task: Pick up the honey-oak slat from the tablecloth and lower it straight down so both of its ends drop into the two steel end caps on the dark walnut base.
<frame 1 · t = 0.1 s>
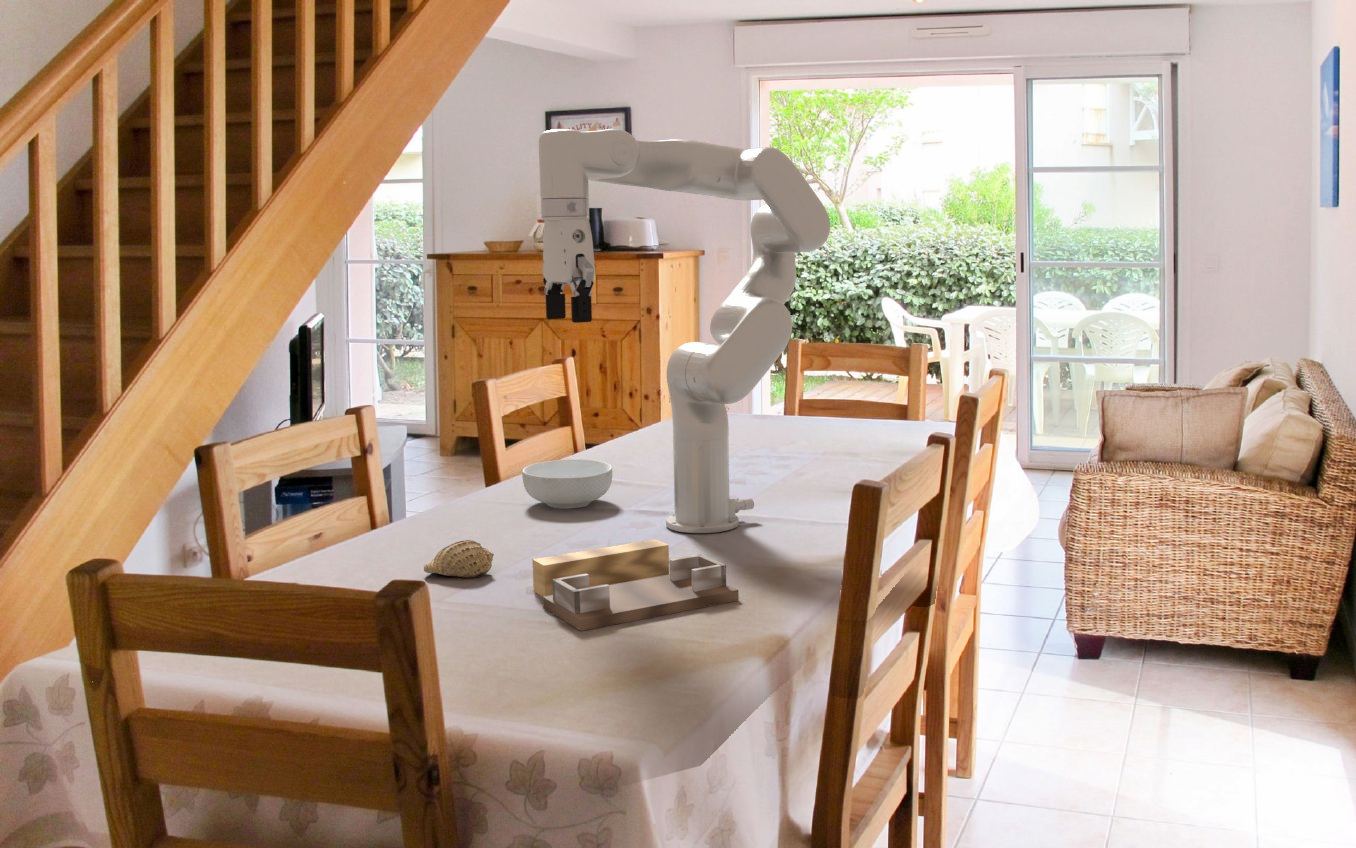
hand: (568, 320, 197), 37 cm above the table, fingers open, 9 cm apart
endcap base: (641, 603, 171), on the table
seashell: (459, 577, 188), on the table
slat: (602, 585, 182), on the table
cereal bowl: (568, 505, 234), on the table
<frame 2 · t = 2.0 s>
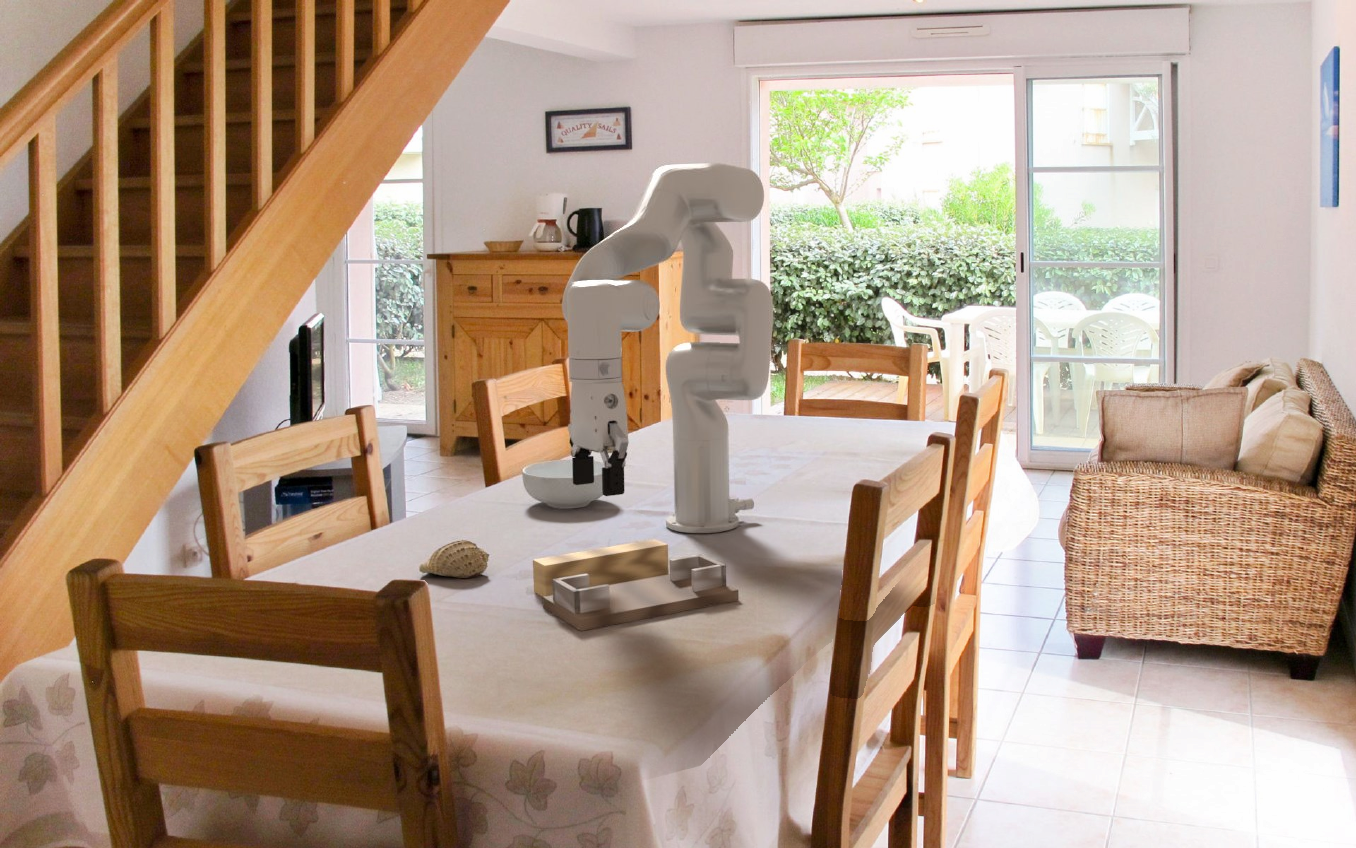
hand: (598, 489, 179), 14 cm above the table, fingers open, 9 cm apart
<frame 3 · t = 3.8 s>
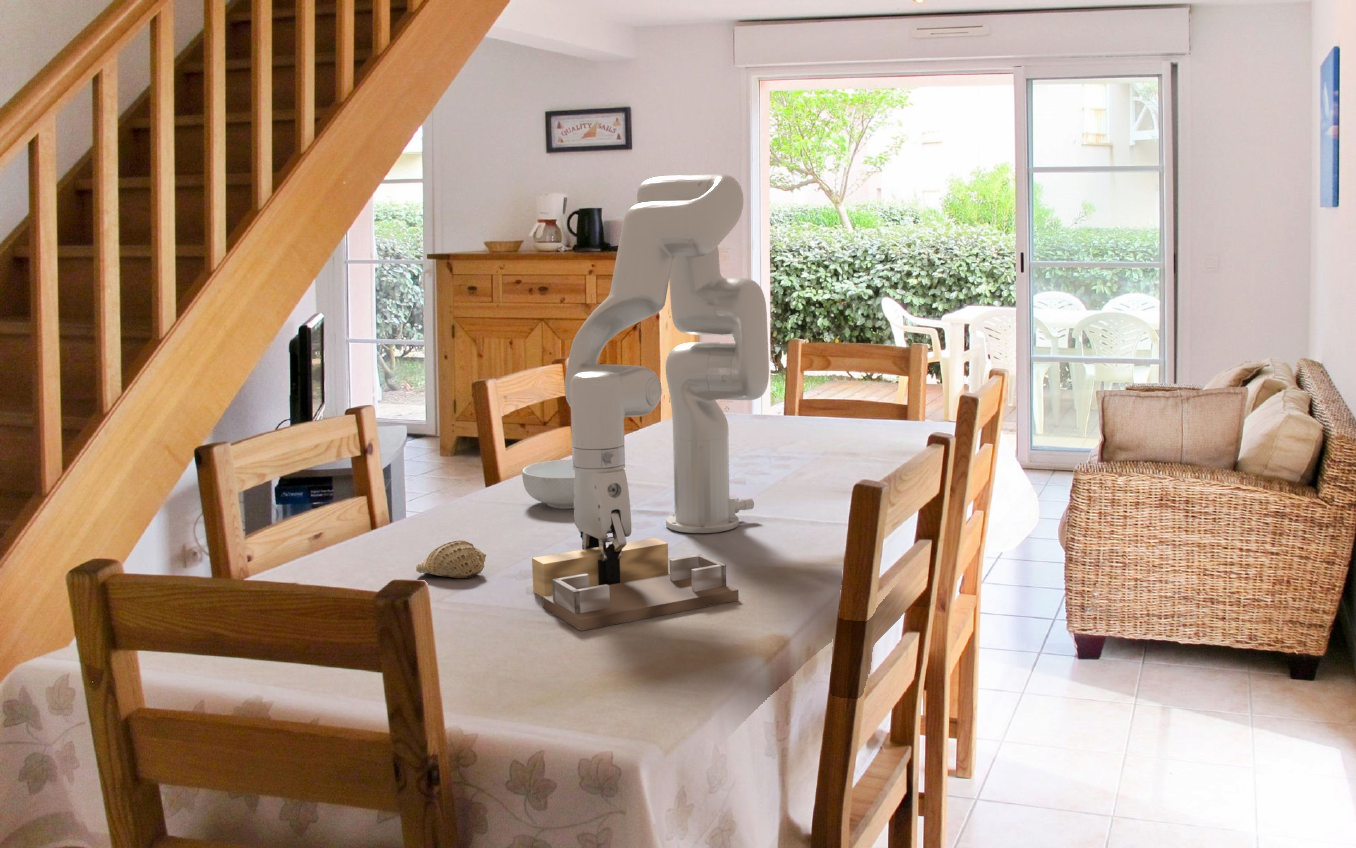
hand: (602, 580, 181), 0 cm above the table, fingers closed on slat, 4 cm apart
slat: (602, 583, 181), on the table, touching gripper
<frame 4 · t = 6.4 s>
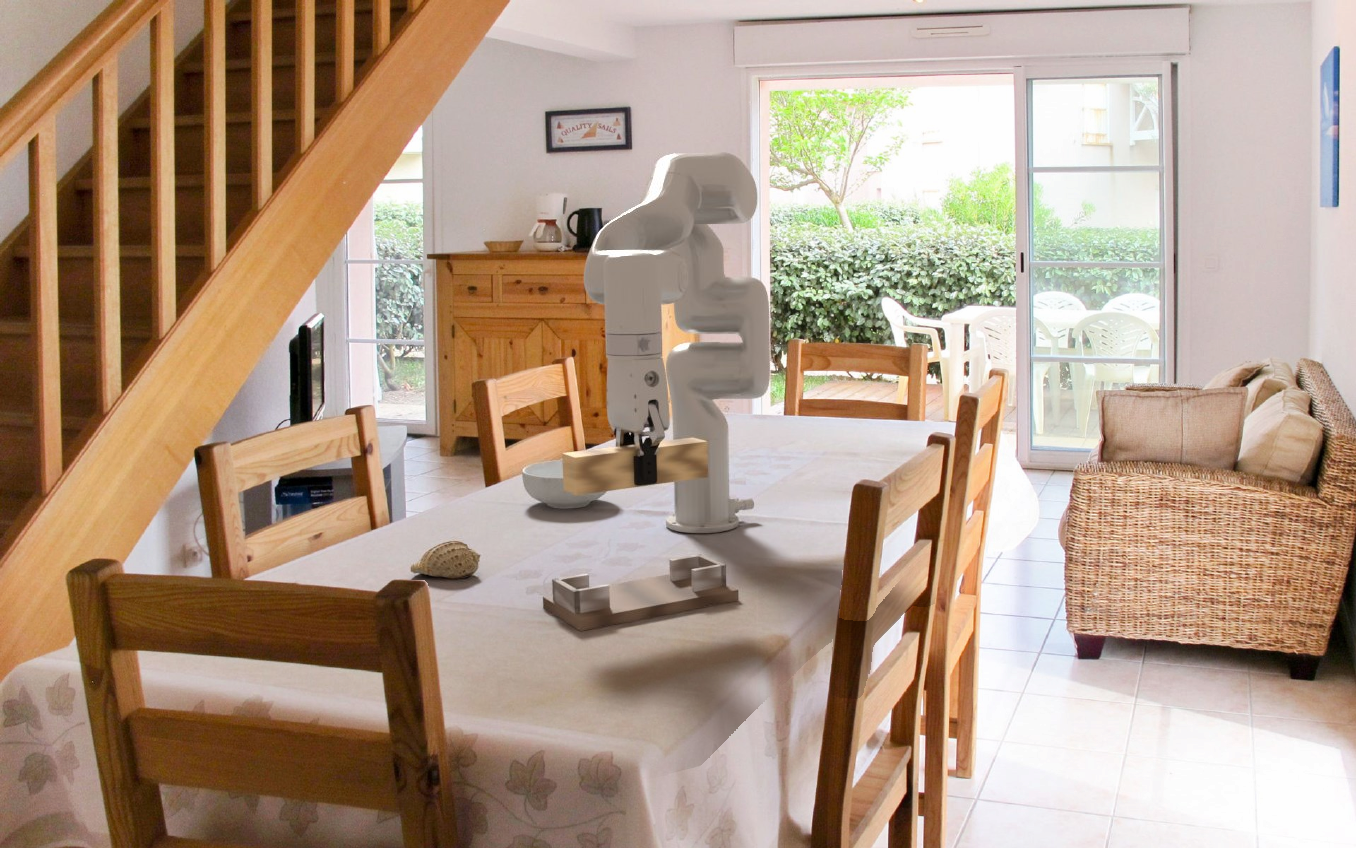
hand: (637, 480, 169), 17 cm above the table, fingers closed on slat, 4 cm apart
slat: (637, 483, 169), point 17 cm above the table, touching gripper
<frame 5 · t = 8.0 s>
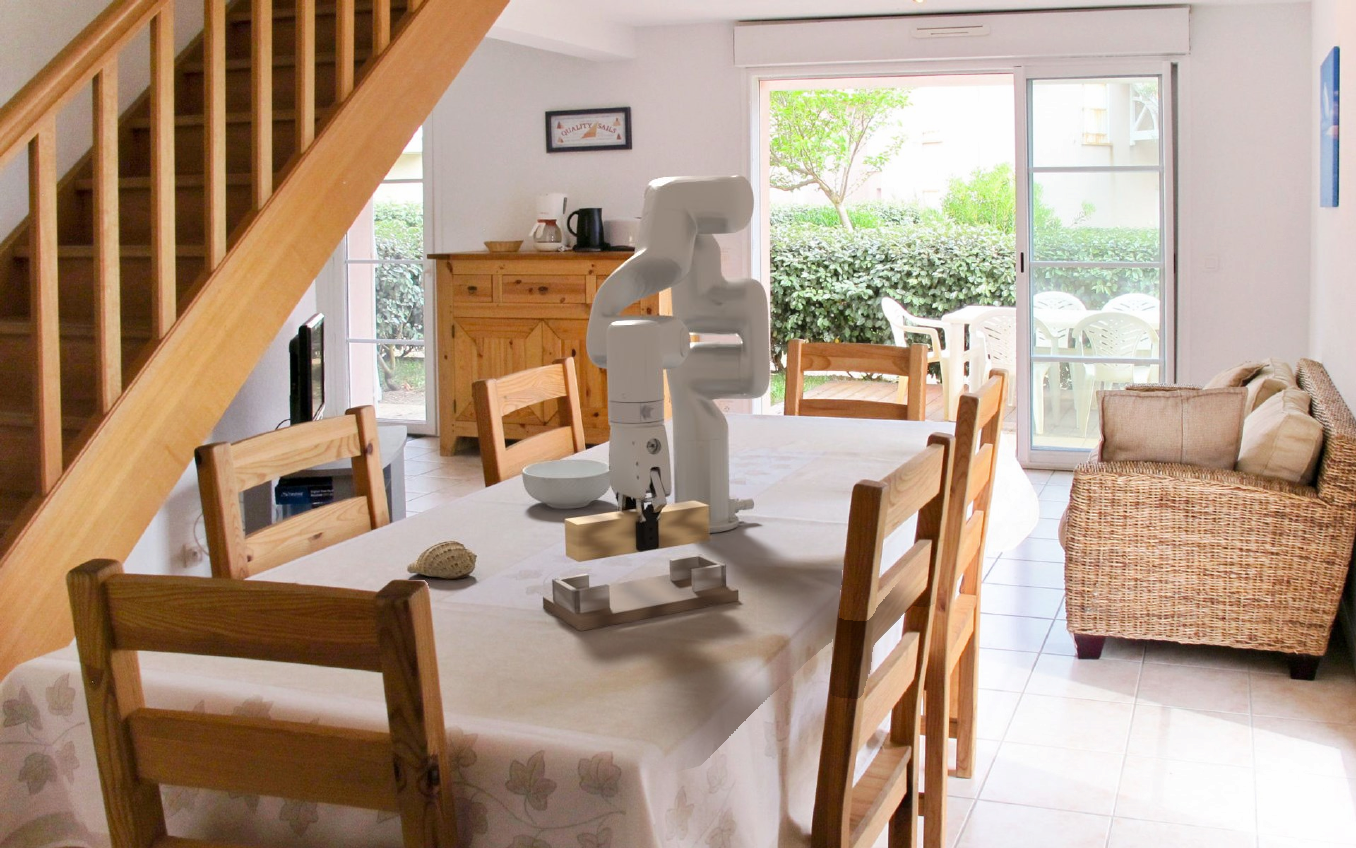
hand: (639, 544, 170), 8 cm above the table, fingers closed on slat, 4 cm apart
slat: (639, 548, 170), point 8 cm above the table, touching gripper
when the fingers open (3 cm above the table, at t = 9.3 s): slat drops 1 cm, resting on endcap base.
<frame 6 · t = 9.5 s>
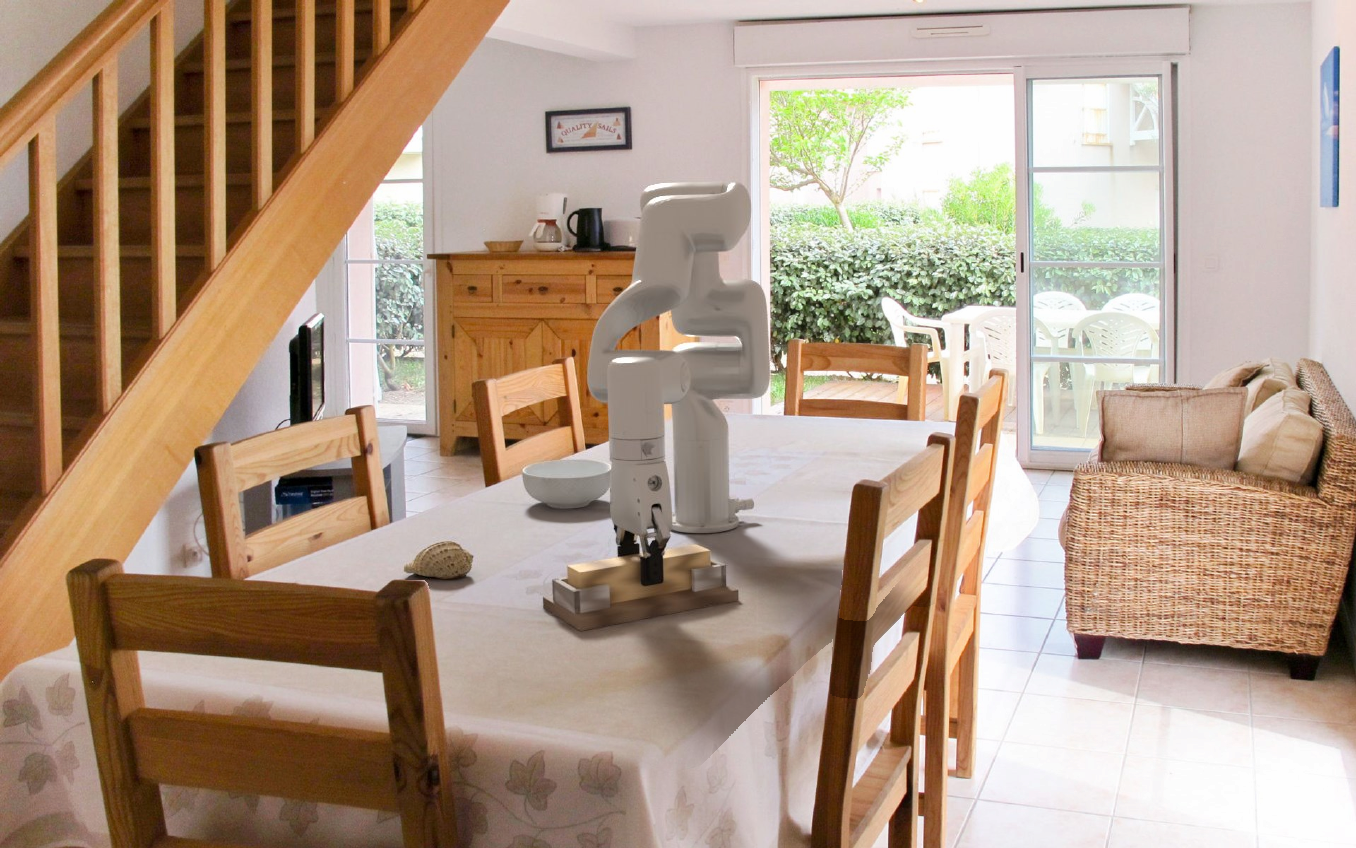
hand: (640, 577, 171), 4 cm above the table, fingers open, 6 cm apart
slat: (641, 593, 171), point 1 cm above the table, touching endcap base
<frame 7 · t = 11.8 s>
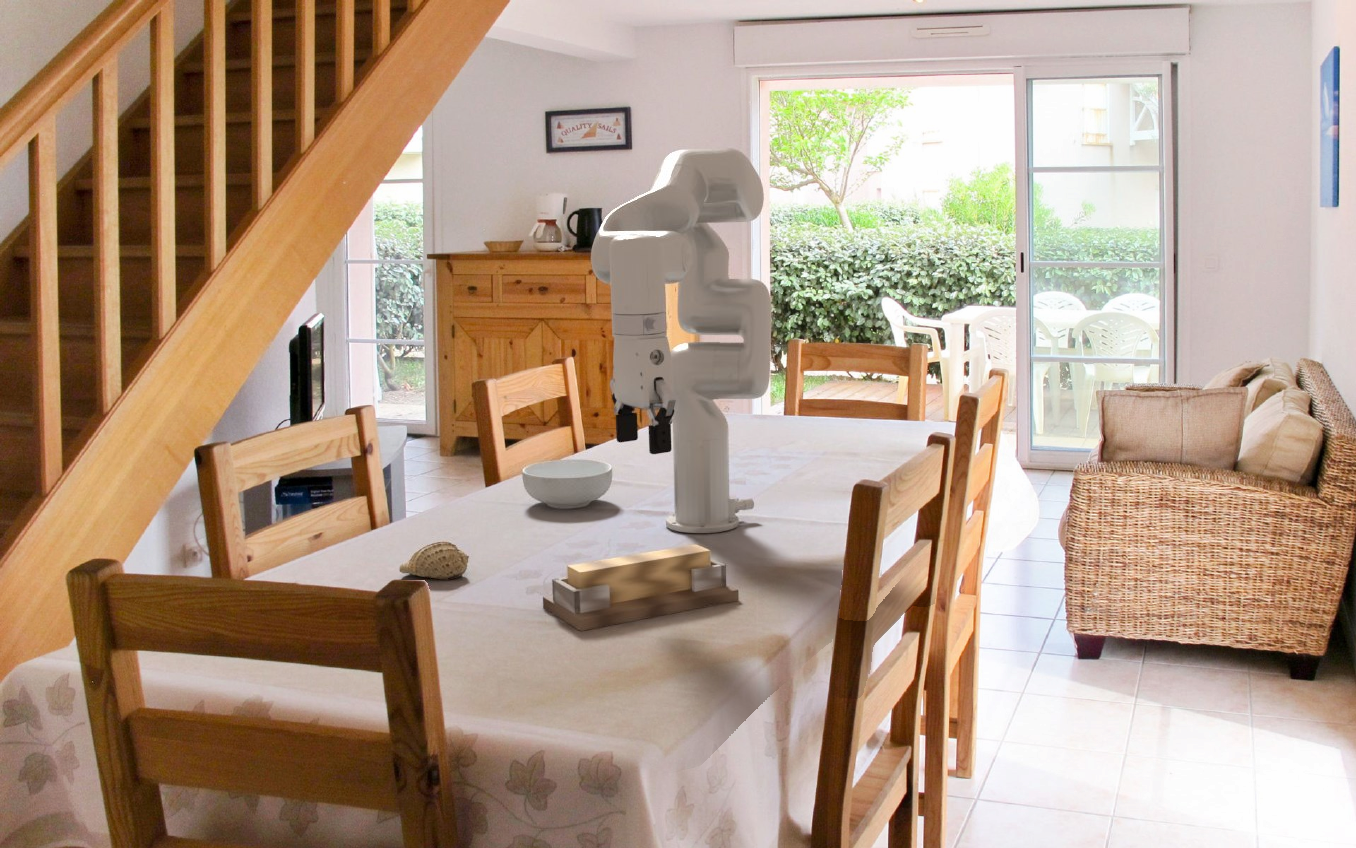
hand: (643, 446, 175), 21 cm above the table, fingers open, 9 cm apart
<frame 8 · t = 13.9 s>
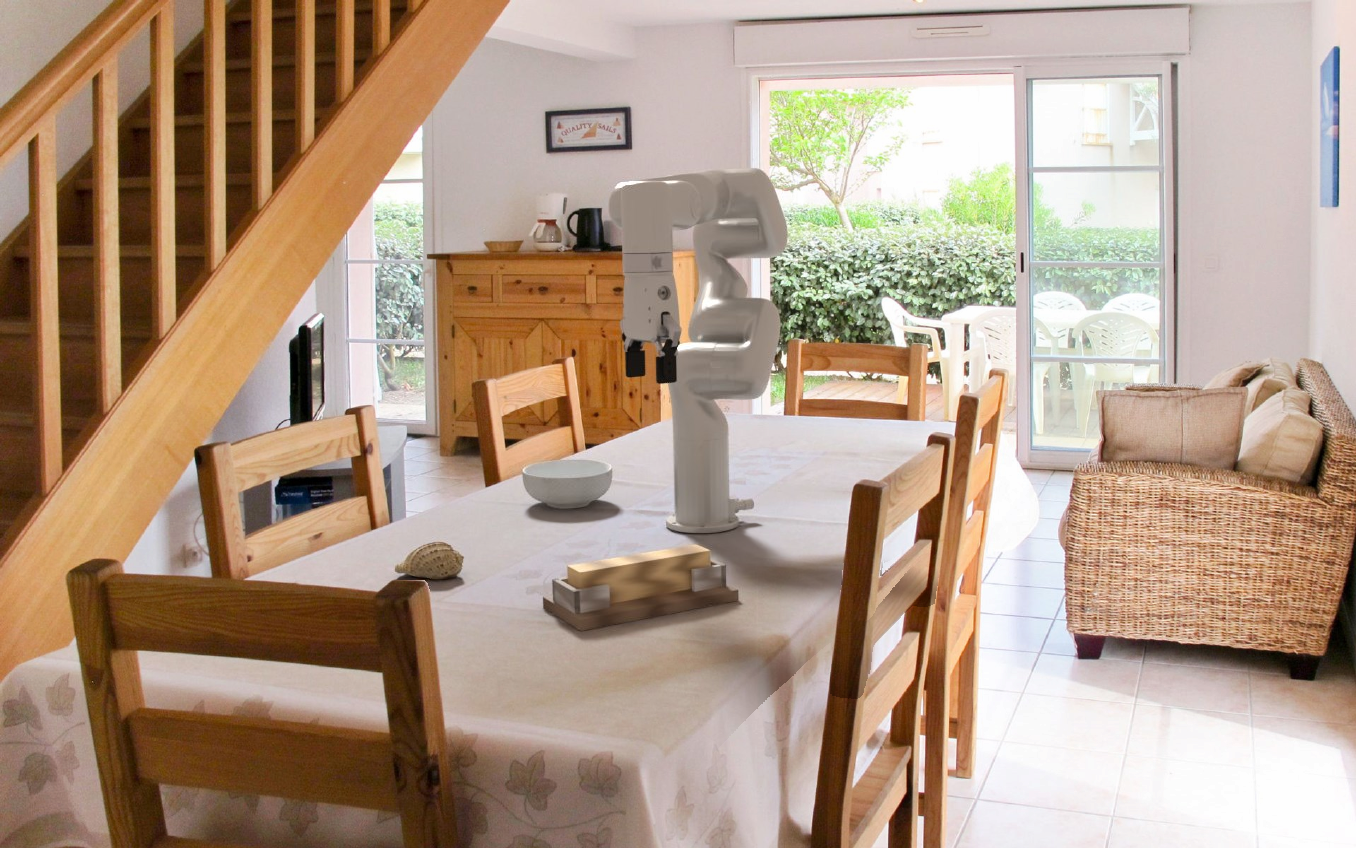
hand: (650, 379, 188), 28 cm above the table, fingers open, 9 cm apart
at the end: slat 0.0 cm off-centre on the endcap base, point 1.5 cm above the endcap base's base; slat tilted 0°; the gripper is holding nothing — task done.
